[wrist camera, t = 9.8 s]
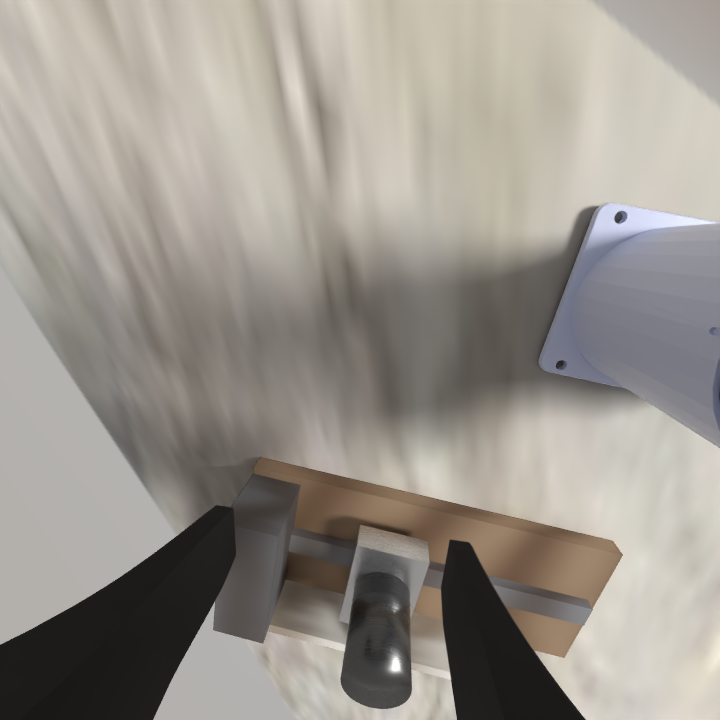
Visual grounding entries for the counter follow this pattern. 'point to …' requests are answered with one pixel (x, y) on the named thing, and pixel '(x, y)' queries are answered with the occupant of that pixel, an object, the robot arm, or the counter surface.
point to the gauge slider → (381, 616)
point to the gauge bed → (406, 517)
